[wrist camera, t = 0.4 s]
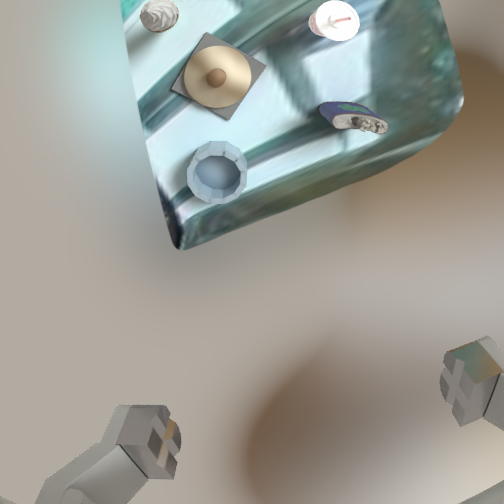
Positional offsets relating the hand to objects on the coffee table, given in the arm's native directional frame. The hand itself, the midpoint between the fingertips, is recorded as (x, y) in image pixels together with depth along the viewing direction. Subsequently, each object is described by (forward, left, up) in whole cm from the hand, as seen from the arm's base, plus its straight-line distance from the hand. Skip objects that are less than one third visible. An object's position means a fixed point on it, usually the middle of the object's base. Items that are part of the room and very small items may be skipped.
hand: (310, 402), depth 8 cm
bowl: (+15, +2, -49) cm, 51 cm away
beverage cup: (-16, +2, -49) cm, 52 cm away
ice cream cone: (-4, -18, -49) cm, 52 cm away
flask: (-6, +14, -49) cm, 52 cm away
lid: (+1, -6, -48) cm, 49 cm away
